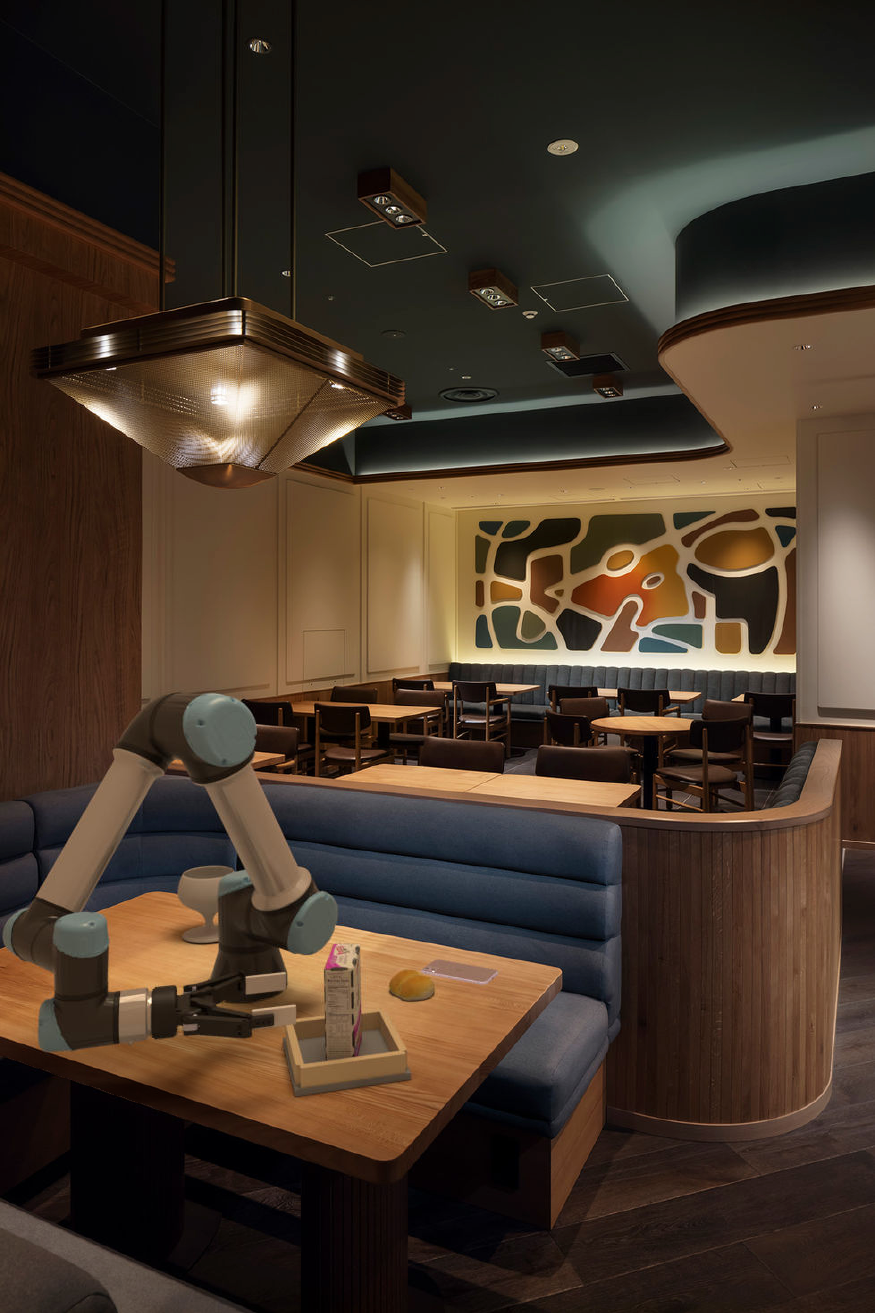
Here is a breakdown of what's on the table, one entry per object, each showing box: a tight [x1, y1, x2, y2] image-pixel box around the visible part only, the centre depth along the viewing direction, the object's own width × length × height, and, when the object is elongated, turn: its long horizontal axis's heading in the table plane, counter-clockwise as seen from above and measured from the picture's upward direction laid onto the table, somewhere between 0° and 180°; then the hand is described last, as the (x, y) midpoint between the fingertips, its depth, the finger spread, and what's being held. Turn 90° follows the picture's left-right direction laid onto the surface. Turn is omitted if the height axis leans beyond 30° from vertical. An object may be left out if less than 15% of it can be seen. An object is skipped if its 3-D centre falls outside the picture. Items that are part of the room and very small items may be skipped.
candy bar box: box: [323, 942, 362, 1061], centre depth 139 cm, size 11×5×16 cm, turn 179°
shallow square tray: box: [282, 1008, 412, 1097], centre depth 139 cm, size 18×18×4 cm
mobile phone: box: [420, 958, 499, 985], centre depth 176 cm, size 8×1×15 cm
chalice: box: [177, 865, 236, 944], centre depth 199 cm, size 14×14×15 cm
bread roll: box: [388, 969, 435, 1002], centre depth 166 cm, size 8×9×4 cm
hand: (290, 996), depth 136 cm, fingers open, 13 cm apart
